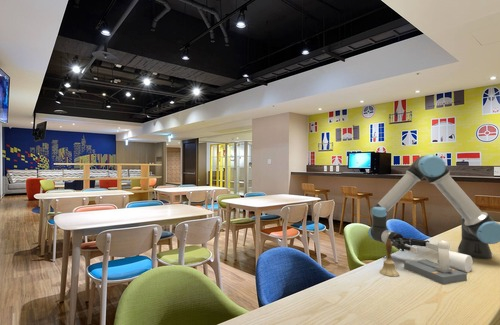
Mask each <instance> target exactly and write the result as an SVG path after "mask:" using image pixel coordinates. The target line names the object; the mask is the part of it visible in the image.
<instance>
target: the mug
mask: <svg viewBox="0 0 500 325" xmlns="http://www.w3.org/2000/svg"><path fill="white" fill-rule="evenodd" d="M473 265H474V262H473V257H471V256H470V255H466V254H461V253H458V251H452V250H449V267H450V268H452V269H455V270H458V271H461V272H464V273H470V272H471V271H472V269H473Z"/></svg>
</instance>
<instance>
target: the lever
mask: <svg viewBox="0 0 500 325" xmlns="http://www.w3.org/2000/svg"><path fill="white" fill-rule="evenodd" d="M437 245H438V251H437V252H438V253H437V254H438V258H437V259H438V261H437V263H438V266H436V270H438V271H440V272H443V273H446V272H452V269H453V268H450V267H449V251H450V247H451V246H450V243H449V242H448V241H447V240H443V239H441V240H439V241H438V242H437Z"/></svg>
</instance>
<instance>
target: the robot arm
mask: <svg viewBox="0 0 500 325" xmlns="http://www.w3.org/2000/svg"><path fill="white" fill-rule="evenodd" d="M448 168H449V167H447V165H446V162H445V161H444V159H443V158H442V157H440V156H438V155H435V154H425V155H421V156H419V157H417V158H416V159H415V160H414V161H413V163H411V165H410V166H409V167H408V168H407V169H406V171H405V174H403V176H402V177H401V178H400V179H399V180H398V182H396V183H395V184H394V186H393V187H392V188H391V189H389V191H388V192H387V193H386V194H385V195H384V196H383V197H382V198H381V199H380V200H379V201H378V203H376V205H374V207H371V208H370V210H369V216H370V218H371V221H372V224H371V226H370V227H369V229H368V231H367V233H368V234H367V235H368V237H369V238H370V239H372V240H374V241H376V242H379V243H383V244H386V242H387V239H390V240H391V243H392V247H394V248H396V249H397V250H400V252H405V251H408V252H410V253H412V254H417V255H418V251H419V250H418V247H425V248H427V249H429V250H432V251H436V252H438V244H435V243H432V242H430V241H429V240H428V239H427V240H423V239H418V238H412V237H408V238H407V237H404V235H402V233H399V232H395V231H393V230H389V229H387V218H388V216H387V215H388V212H389V211H390V210H391V209H392V208H393V207H394V206H395V205H396V204H397V203H398V202H399V201H400V200H401V199H402V198H403V197H404V196H405V195H406V194H407V193H408V192H409V191H410V190H411V189H412V187H414V185H416V184H417V183H418V182H421V181H422V180H423V179H425V180H426V181H427V182H428V183H429V184H431V185H432V184H433V185H434V186H435V187H436V188H437V189H438V190H439V192H440V193H441V194H442V195H443V196H444V197H445V198H446V200H447V201H448V202H449V204H450V205H452V207H454V209H455V210H456V211H457V213H458V214H459V215H460V216H461V218H460V221H461V223H460V225H461V228H460V229H461V240H460V243H459V244H458V247H457V253H461V254H466V255H470V256H471V257H472V258H476V259H488V260H489V259H492V258H493V252H492V250H491V248H490V245H495V244H499V243H500V223H498V222H497V221H495V220H494V219H493V218H492V217H491V216H490V215H489V213H488V212H485V211H482V210H481V209H480V208H479V207H478V206H477V205H476V204H475V202H474V201H473V200H472V199H471V198H470V197H469V196H468V195H467V193H466V192H465V191H464V190H463V189H462V187H460V185H459V184H458V183H457V182H456V181H455V180H454V179H453V177H451V175H450V172H451V171H450V170H449V169H448ZM417 246H418V247H417Z"/></svg>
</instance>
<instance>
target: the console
mask: <svg viewBox="0 0 500 325" xmlns="http://www.w3.org/2000/svg"><path fill="white" fill-rule="evenodd" d="M436 266H438V262H435V261H432V260H429V259H419V260H418V259H417V260H412V261H411V260H410V261H409V260H408V261H404V262H403V269H404V270H408V271H409V272H412V273H414V274H416V275H419V276H421V277H424V278H425V279H429V280H431V281H434V282H435V283H438V284H441V285H447V284H453V283H460V282H466V281H467V280H468V279H467V278H468V274H467V272H464V271H460V270H457V269H453V268H452V272H446V273H443V272H440V271H438V270H436Z"/></svg>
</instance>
